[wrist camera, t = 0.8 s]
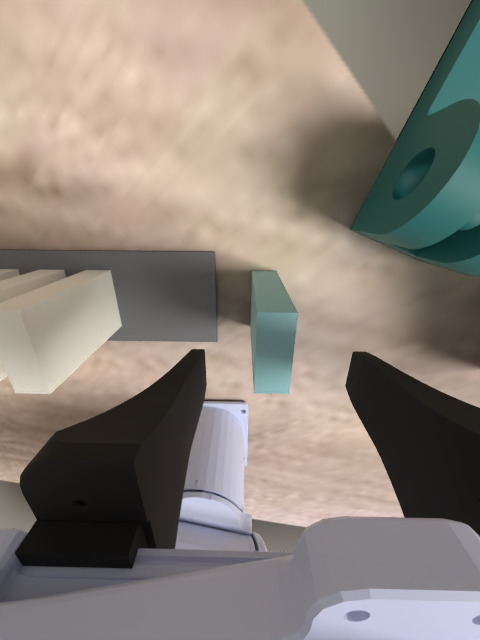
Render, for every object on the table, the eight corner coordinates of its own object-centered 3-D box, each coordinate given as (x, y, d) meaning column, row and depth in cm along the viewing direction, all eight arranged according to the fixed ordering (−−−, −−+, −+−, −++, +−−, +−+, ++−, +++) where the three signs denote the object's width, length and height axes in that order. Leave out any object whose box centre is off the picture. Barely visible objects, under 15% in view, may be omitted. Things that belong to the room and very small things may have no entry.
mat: (217, 340, 23) (217, 341, 23) (-39, 336, 23) (-42, 338, 23) (214, 251, 20) (214, 252, 20) (-83, 248, 20) (-87, 249, 20)
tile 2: (121, 325, 22) (50, 393, 14) (99, 325, 22) (15, 393, 14) (110, 270, 20) (19, 311, 12) (86, 270, 20) (-22, 311, 12)
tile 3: (79, 325, 22) (-16, 392, 14) (57, 325, 22) (-51, 392, 14) (64, 269, 20) (-58, 310, 12) (39, 269, 20) (-99, 310, 12)
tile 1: (272, 326, 22) (288, 393, 14) (250, 325, 23) (253, 393, 14) (276, 271, 20) (297, 312, 12) (251, 270, 20) (257, 312, 12)
